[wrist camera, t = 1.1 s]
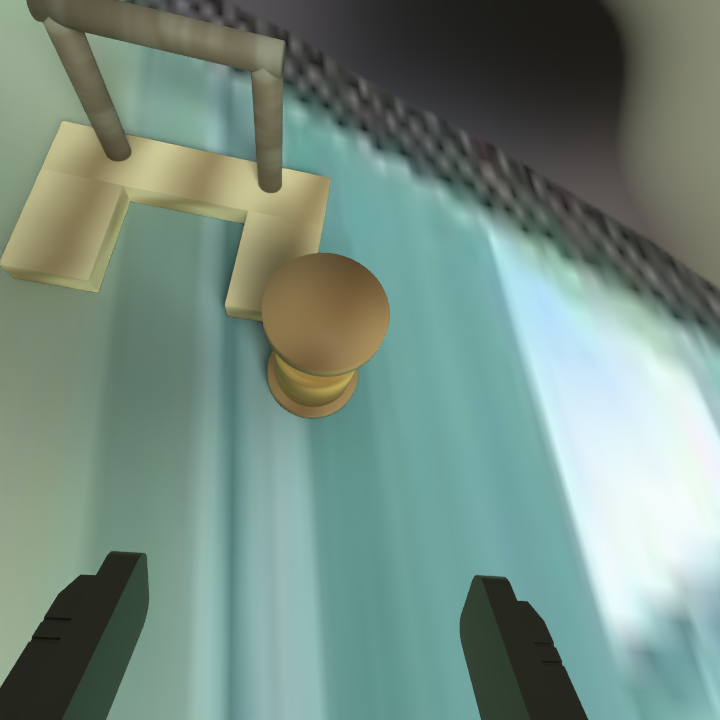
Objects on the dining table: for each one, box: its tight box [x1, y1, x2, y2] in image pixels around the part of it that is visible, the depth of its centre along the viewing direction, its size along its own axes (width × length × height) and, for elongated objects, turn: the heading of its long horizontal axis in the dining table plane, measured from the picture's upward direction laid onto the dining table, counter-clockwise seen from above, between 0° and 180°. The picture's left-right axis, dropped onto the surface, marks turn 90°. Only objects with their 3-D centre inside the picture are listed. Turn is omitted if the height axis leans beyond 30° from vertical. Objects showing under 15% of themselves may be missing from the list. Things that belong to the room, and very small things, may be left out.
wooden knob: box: [262, 253, 390, 419], centre depth 25 cm, size 6×6×10 cm
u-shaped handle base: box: [0, 0, 331, 322], centre depth 26 cm, size 18×11×12 cm, turn 83°
